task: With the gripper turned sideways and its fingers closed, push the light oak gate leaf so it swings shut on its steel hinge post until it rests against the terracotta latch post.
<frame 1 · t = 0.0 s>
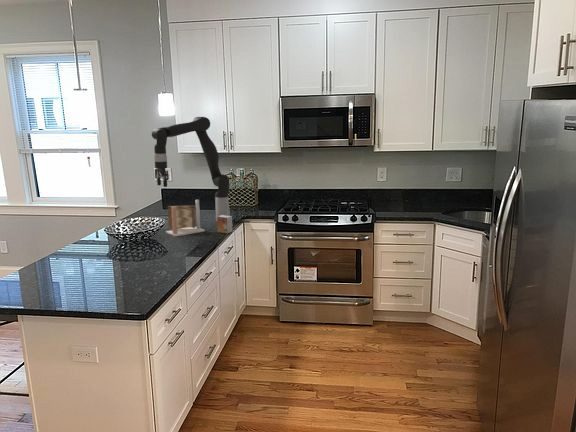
hand: (162, 186, 291), 29 cm above the worktop, tool pointing down, fingers open, 8 cm apart
gate leaf: (181, 217, 295), point 9 cm above the worktop, hinge at -35.0°
small box: (224, 232, 293), on the worktop
gate frame: (185, 231, 293), on the worktop
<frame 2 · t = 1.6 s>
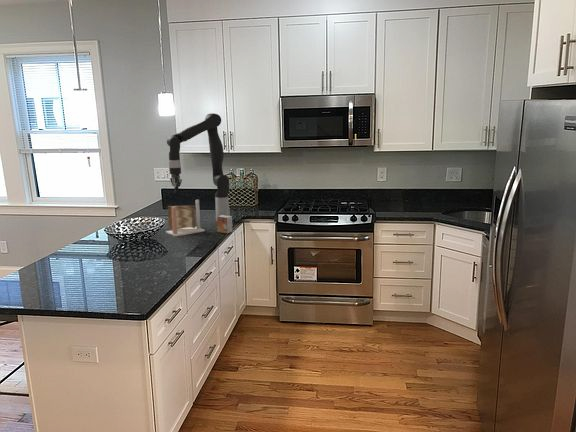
hand: (176, 192, 305), 23 cm above the worktop, tool pointing down, fingers closed
nothing on the worktop moved.
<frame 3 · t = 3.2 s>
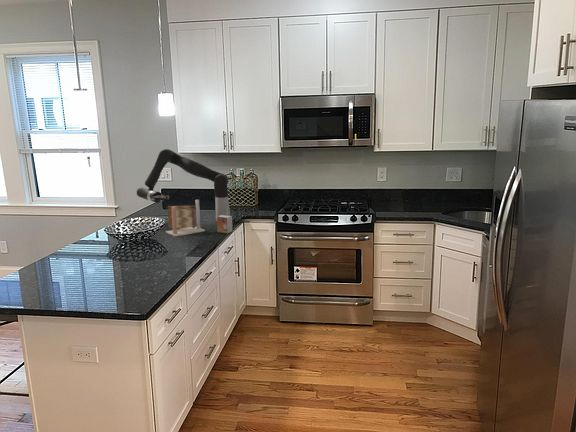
hand: (166, 199, 298), 19 cm above the worktop, tool horizontal, fingers closed
nothing on the worktop moved.
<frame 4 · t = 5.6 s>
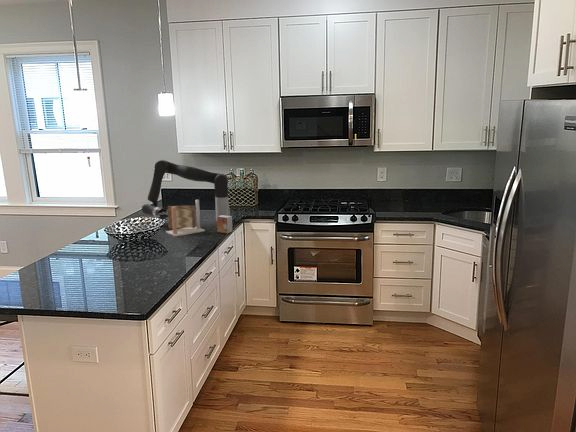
hand: (172, 216, 295), 9 cm above the worktop, tool horizontal, fingers closed
gate leaf: (181, 217, 295), point 9 cm above the worktop, hinge at -34.6°, touching gripper
everything else where it was.
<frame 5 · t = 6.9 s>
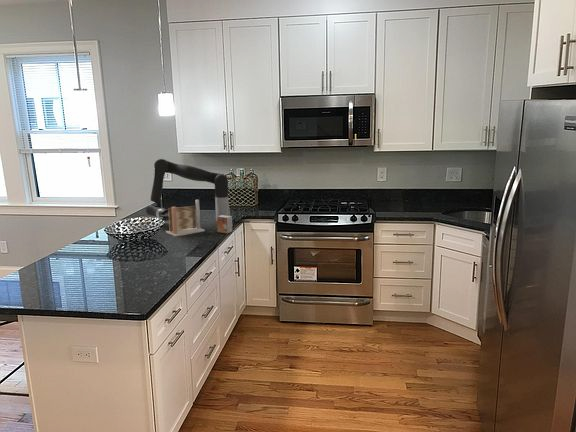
hand: (175, 218, 289), 9 cm above the worktop, tool horizontal, fingers closed
gate leaf: (182, 218, 291), point 9 cm above the worktop, hinge at -11.8°, touching gripper
everything else where it was.
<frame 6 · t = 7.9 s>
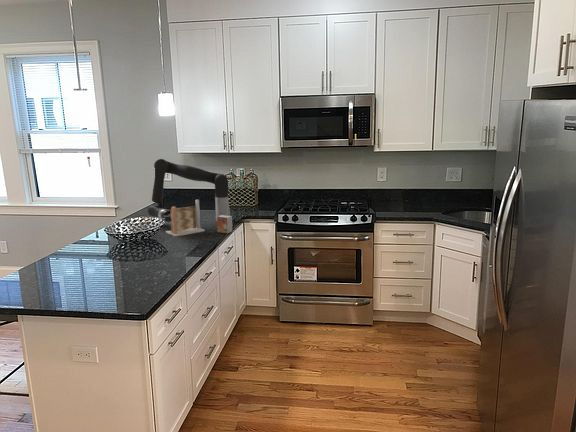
hand: (177, 219, 287), 9 cm above the worktop, tool horizontal, fingers closed
gate leaf: (183, 218, 289), point 9 cm above the worktop, hinge at 0.1°, touching gripper
everything else where it was.
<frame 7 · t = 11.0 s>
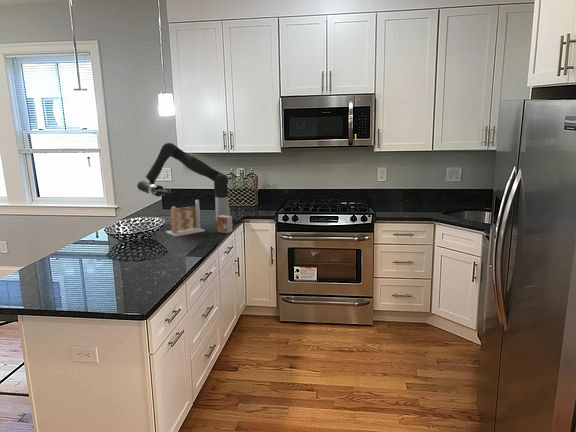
hand: (168, 193, 296), 24 cm above the worktop, tool horizontal, fingers closed
gate leaf: (183, 218, 289), point 9 cm above the worktop, hinge at 0.1°
everything else where it was.
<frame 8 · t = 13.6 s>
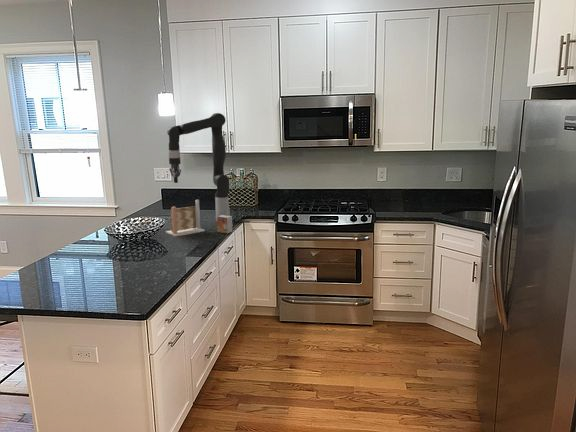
hand: (175, 182, 308), 29 cm above the worktop, tool pointing down, fingers closed
nothing on the worktop moved.
at the end: gate leaf at +0° (first picture: -35°); small box moved 0.3 cm from its start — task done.
